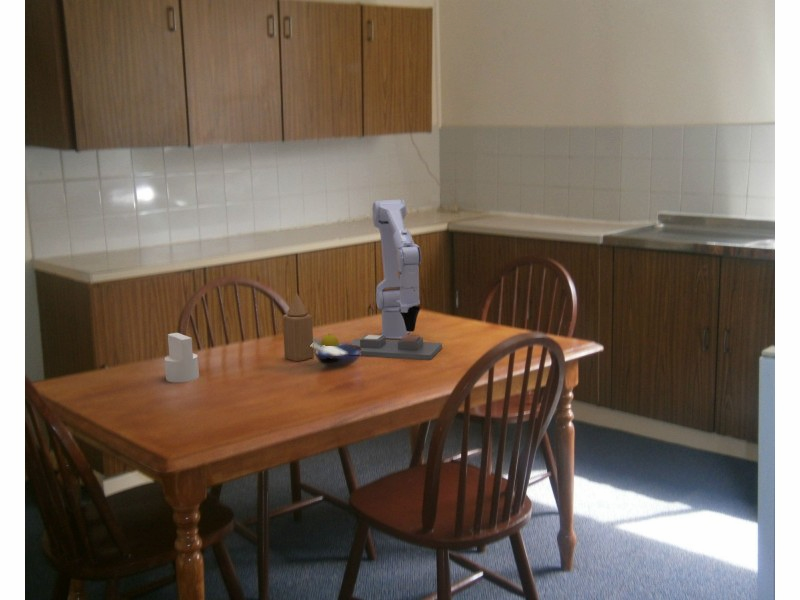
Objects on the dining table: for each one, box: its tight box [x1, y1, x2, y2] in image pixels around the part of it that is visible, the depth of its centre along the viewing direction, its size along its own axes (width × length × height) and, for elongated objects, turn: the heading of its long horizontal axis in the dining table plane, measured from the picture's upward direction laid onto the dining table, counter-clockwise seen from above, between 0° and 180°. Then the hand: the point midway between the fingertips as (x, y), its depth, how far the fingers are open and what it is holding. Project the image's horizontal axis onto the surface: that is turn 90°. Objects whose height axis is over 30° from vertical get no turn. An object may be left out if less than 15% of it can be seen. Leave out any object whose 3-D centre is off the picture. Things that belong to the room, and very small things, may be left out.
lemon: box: [320, 333, 340, 347], centre depth 268 cm, size 6×6×8 cm
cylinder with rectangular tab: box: [164, 332, 200, 383], centre depth 253 cm, size 9×9×12 cm
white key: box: [364, 334, 382, 340], centre depth 278 cm, size 4×4×2 cm
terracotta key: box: [402, 333, 421, 342], centre depth 274 cm, size 4×4×2 cm
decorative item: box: [282, 292, 315, 362], centre depth 270 cm, size 7×7×20 cm
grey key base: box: [348, 334, 443, 361], centre depth 276 cm, size 14×28×4 cm, turn 73°
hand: (410, 330), depth 274 cm, fingers closed
